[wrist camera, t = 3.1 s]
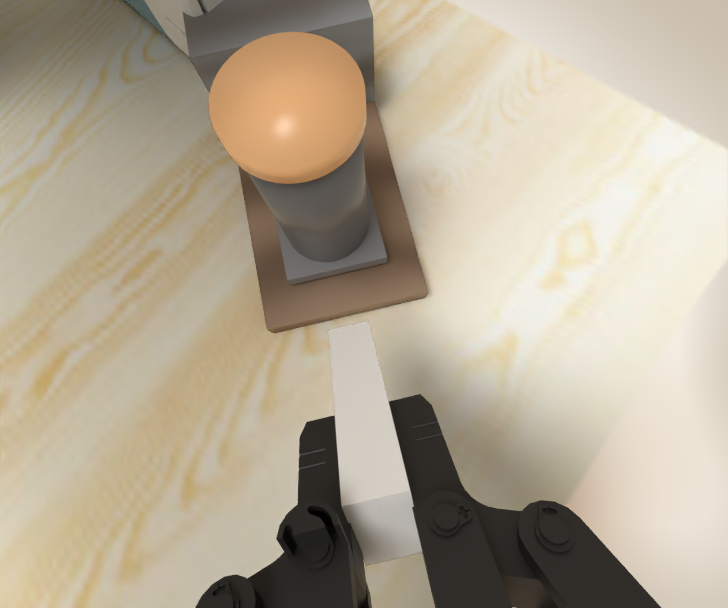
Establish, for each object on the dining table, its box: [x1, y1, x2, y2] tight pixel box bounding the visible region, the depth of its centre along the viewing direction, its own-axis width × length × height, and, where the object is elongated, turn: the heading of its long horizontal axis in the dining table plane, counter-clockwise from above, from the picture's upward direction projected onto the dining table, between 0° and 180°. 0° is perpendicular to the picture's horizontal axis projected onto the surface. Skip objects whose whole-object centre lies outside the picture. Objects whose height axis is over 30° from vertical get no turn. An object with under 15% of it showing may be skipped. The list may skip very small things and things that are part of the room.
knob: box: [208, 32, 387, 285], centre depth 18 cm, size 6×6×11 cm
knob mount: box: [182, 0, 428, 333], centre depth 22 cm, size 18×10×8 cm, turn 13°
